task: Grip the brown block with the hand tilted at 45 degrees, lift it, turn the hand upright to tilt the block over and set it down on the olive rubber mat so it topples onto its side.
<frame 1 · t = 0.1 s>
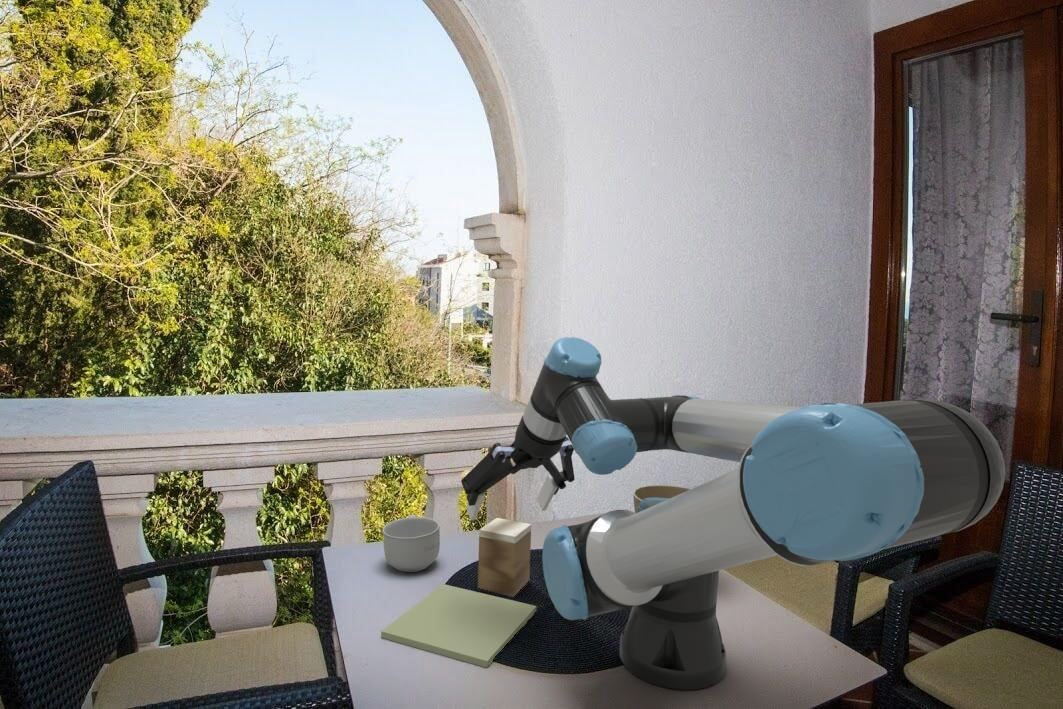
hand: (506, 509, 111), 15 cm above the table, tool tilted 35°, fingers open, 13 cm apart
teacup: (412, 563, 125), on the table
plant pot: (668, 578, 121), on the table
olive mat: (462, 624, 102), on the table
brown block: (503, 585, 116), on the table
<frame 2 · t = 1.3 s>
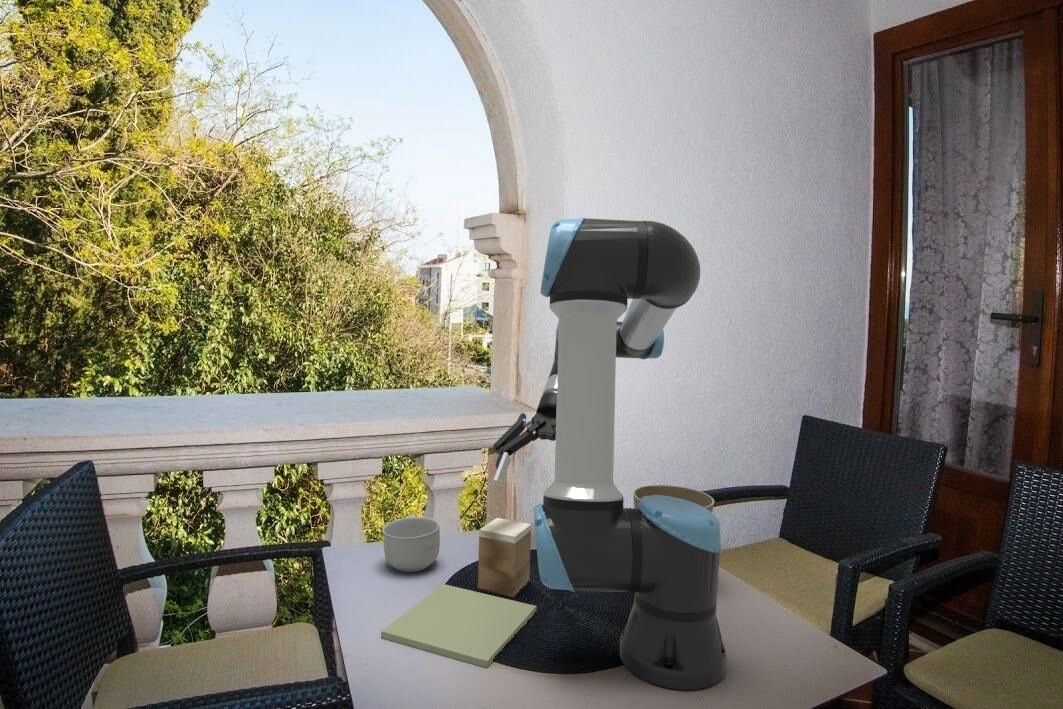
hand: (528, 489, 124), 15 cm above the table, tool tilted 45°, fingers open, 13 cm apart
nothing on the table moved.
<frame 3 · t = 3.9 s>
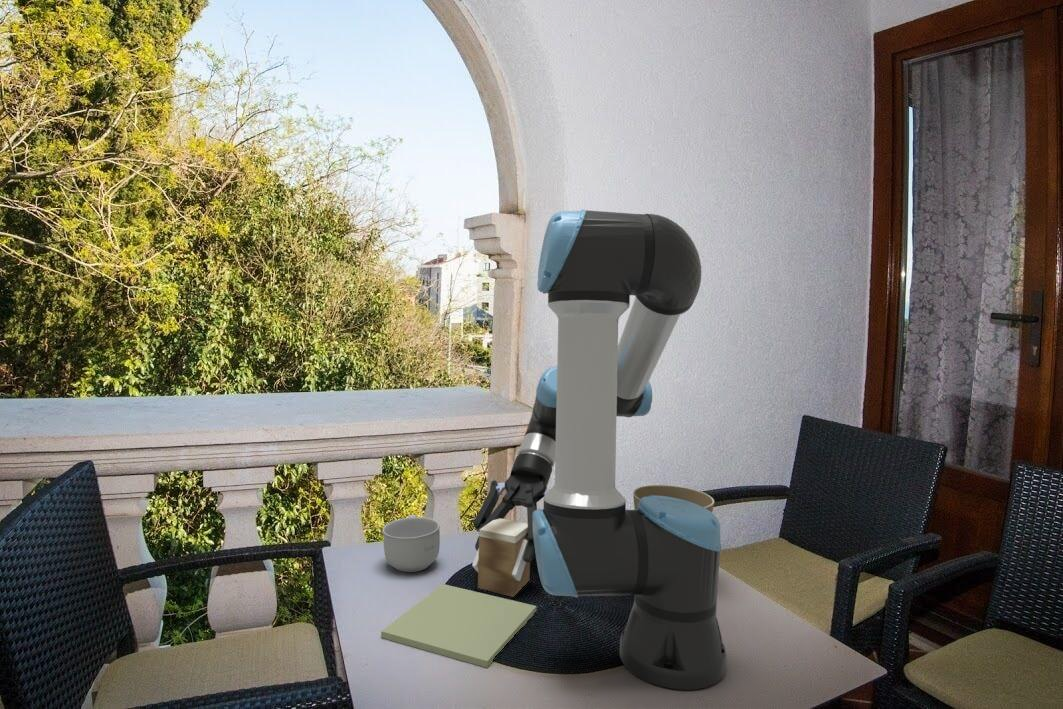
hand: (495, 573, 112), 4 cm above the table, tool tilted 45°, fingers closed on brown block, 7 cm apart
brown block: (503, 585, 116), on the table, touching gripper
everything else where it was.
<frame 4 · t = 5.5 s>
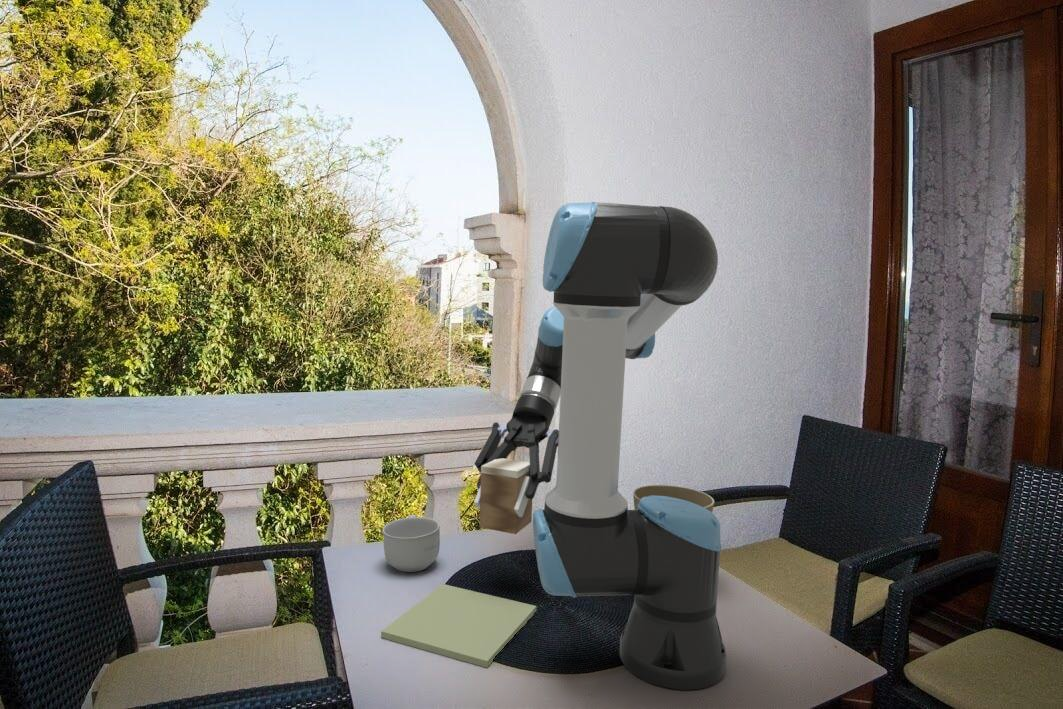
hand: (497, 509, 111), 15 cm above the table, tool tilted 45°, fingers closed on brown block, 7 cm apart
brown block: (505, 524, 115), point 11 cm above the table, touching gripper
everything else where it was.
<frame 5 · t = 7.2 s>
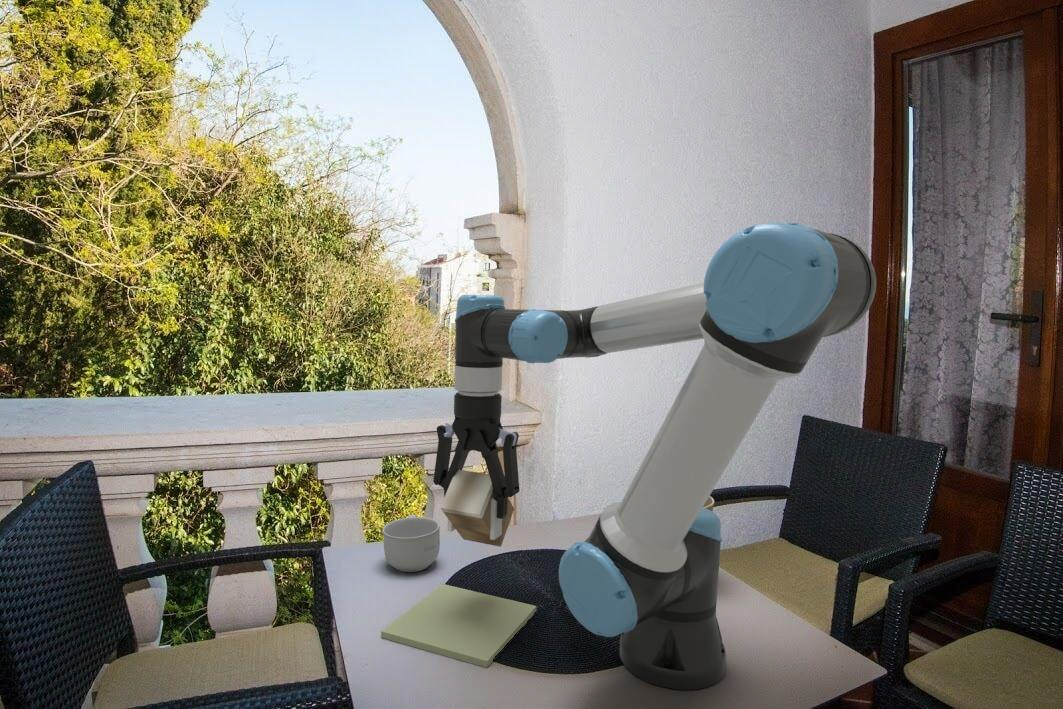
hand: (474, 532, 103), 14 cm above the table, tool pointing down, fingers closed on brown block, 7 cm apart
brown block: (489, 523, 108), point 14 cm above the table, tilted 45°, touching gripper
everything else where it was.
when the fingers open (5 cm above the table, at t = 9.1 s): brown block moves 3 cm and tips over, resting on olive mat.
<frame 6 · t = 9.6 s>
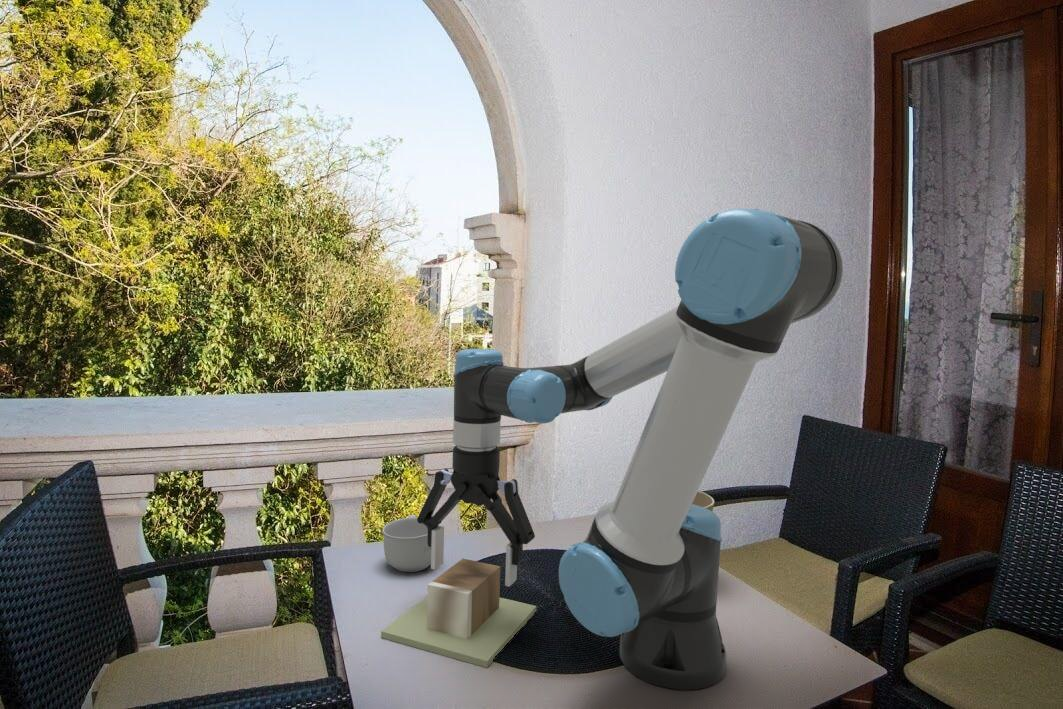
hand: (473, 574, 104), 7 cm above the table, tool pointing down, fingers open, 13 cm apart
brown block: (480, 582, 106), point 4 cm above the table, tilted 90°, touching olive mat
everything else where it was.
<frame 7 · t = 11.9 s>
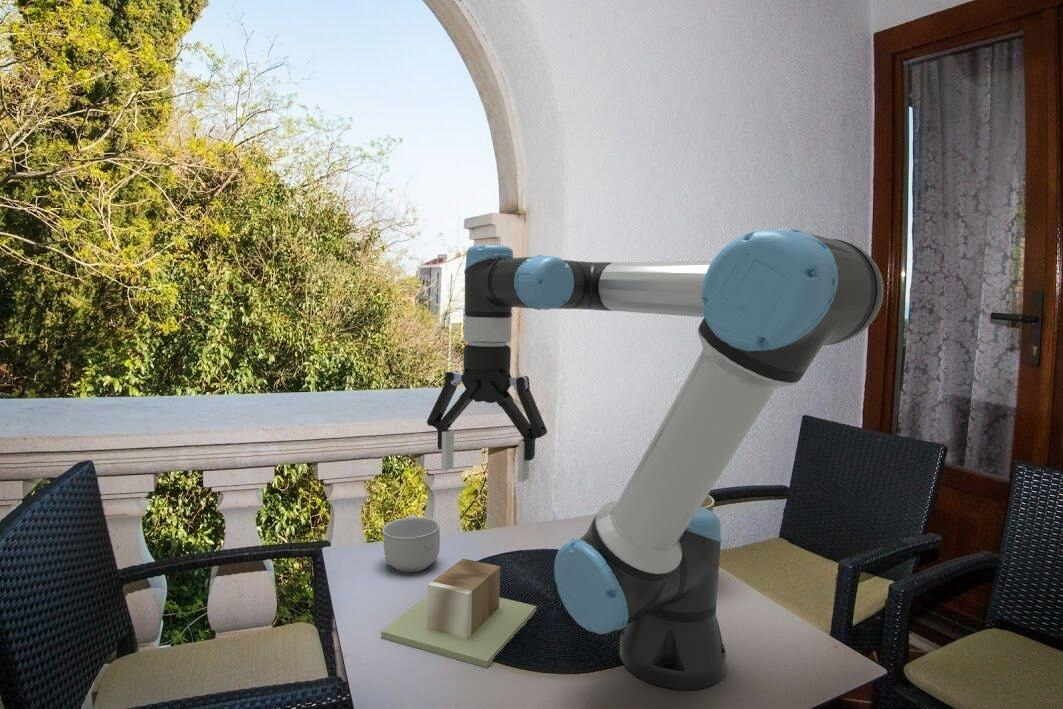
hand: (484, 474, 104), 23 cm above the table, tool pointing down, fingers open, 13 cm apart
nothing on the table moved.
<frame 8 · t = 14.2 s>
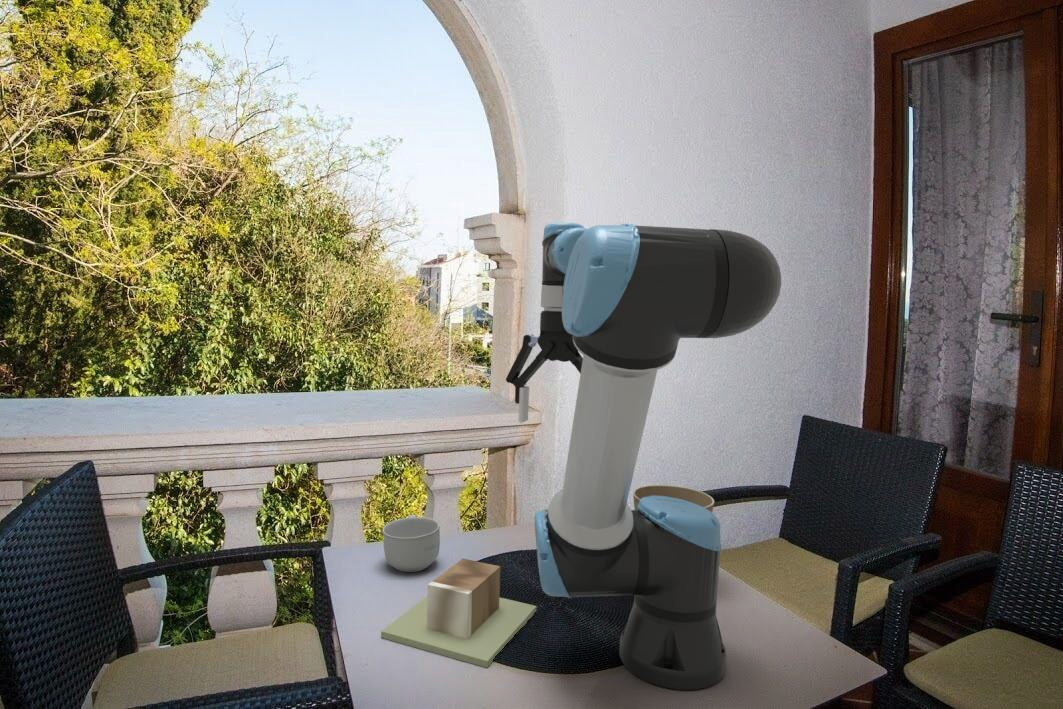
hand: (556, 425, 118), 29 cm above the table, tool pointing down, fingers open, 13 cm apart
nothing on the table moved.
at the end: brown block tilted 90°; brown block touching olive mat; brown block 5.8 cm from the olive mat (horizontally) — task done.
